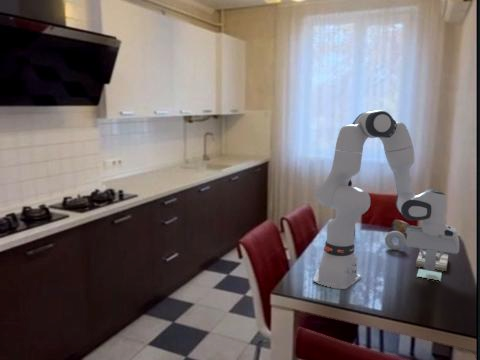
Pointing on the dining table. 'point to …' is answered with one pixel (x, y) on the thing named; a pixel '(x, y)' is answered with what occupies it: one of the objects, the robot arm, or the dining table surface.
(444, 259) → the frame
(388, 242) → the donut
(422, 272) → the green pad
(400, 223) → the tin
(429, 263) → the aluminium block
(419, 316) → the dining table surface
